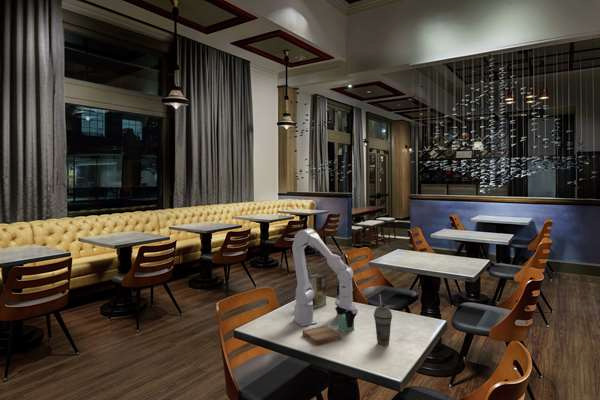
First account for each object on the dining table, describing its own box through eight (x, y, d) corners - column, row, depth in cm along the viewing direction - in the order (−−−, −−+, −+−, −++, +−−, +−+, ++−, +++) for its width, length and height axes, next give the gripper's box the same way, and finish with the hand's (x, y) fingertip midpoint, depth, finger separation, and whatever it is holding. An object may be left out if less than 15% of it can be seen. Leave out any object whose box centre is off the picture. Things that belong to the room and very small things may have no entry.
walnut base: (302, 335, 156) (302, 330, 156) (326, 329, 162) (326, 325, 162) (316, 345, 146) (316, 340, 145) (341, 339, 151) (341, 334, 151)
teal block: (338, 327, 163) (338, 314, 163) (347, 325, 165) (347, 312, 165) (344, 331, 159) (344, 318, 158) (354, 329, 161) (353, 316, 161)
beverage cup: (389, 349, 141) (388, 298, 140) (371, 345, 145) (370, 295, 144) (394, 342, 147) (394, 293, 147) (377, 338, 151) (377, 291, 150)
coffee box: (319, 302, 200) (319, 273, 200) (326, 305, 195) (326, 275, 194) (305, 305, 195) (305, 275, 195) (312, 308, 190) (312, 278, 190)
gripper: (363, 297, 157) (363, 328, 157) (343, 289, 170) (344, 318, 170) (349, 300, 154) (350, 331, 154) (331, 291, 166) (331, 321, 167)
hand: (346, 325), depth 162 cm, fingers closed on teal block, 5 cm apart
